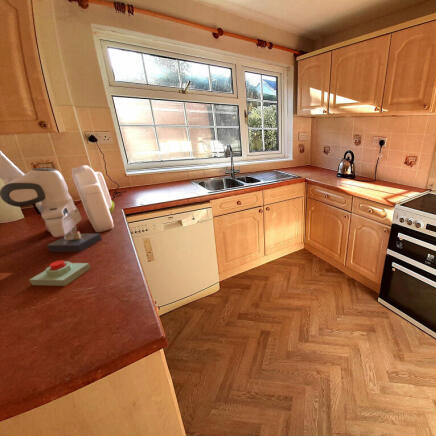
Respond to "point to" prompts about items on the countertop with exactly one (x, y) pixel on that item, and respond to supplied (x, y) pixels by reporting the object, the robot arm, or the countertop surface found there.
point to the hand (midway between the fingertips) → (73, 237)
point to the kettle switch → (57, 265)
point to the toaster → (94, 197)
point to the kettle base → (60, 274)
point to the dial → (75, 235)
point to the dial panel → (74, 243)
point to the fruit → (111, 207)
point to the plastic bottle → (41, 208)
